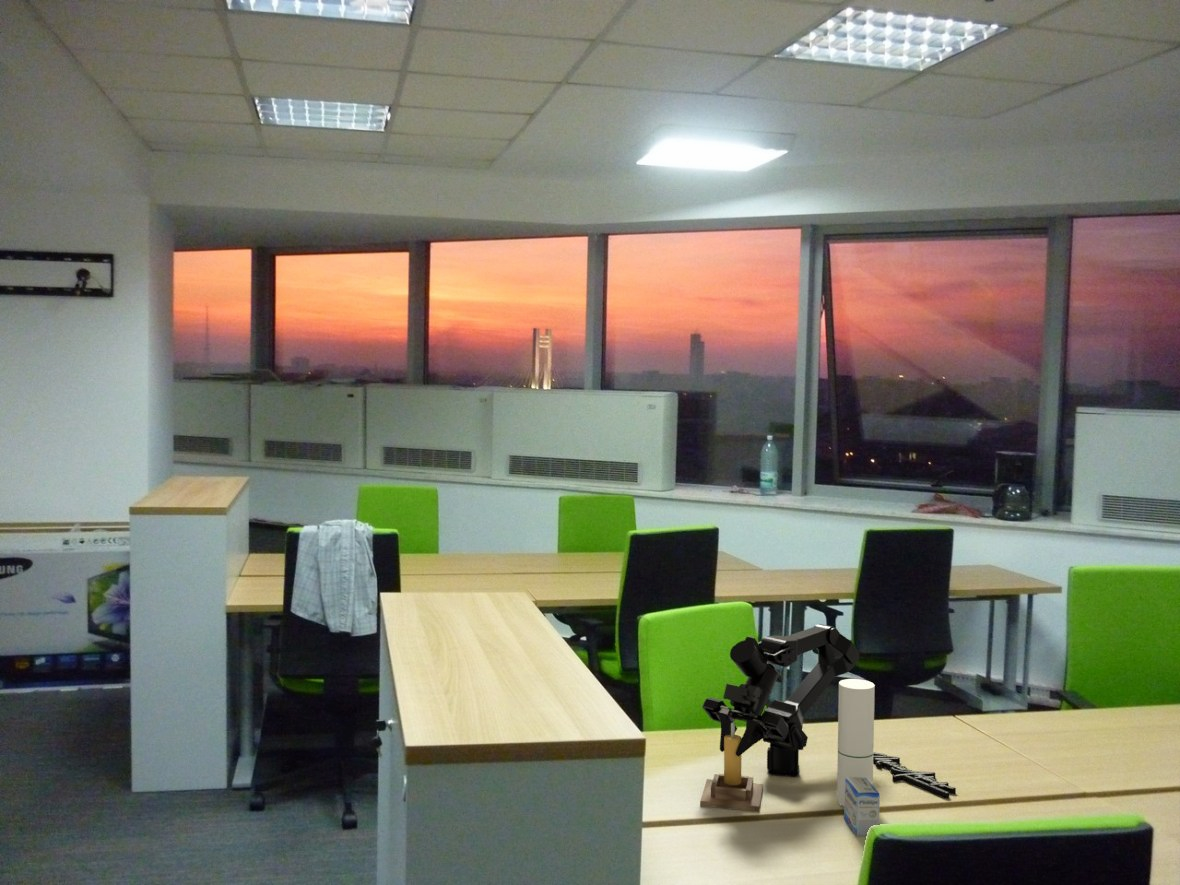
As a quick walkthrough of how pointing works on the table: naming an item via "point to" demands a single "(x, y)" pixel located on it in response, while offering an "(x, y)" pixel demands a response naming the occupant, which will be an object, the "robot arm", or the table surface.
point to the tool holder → (732, 794)
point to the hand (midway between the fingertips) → (729, 753)
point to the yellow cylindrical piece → (732, 758)
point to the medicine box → (861, 805)
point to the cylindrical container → (855, 732)
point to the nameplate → (913, 776)
